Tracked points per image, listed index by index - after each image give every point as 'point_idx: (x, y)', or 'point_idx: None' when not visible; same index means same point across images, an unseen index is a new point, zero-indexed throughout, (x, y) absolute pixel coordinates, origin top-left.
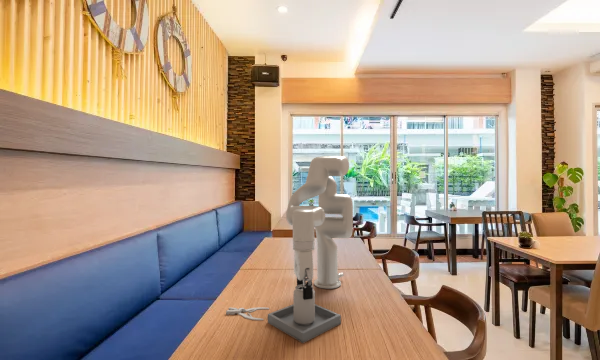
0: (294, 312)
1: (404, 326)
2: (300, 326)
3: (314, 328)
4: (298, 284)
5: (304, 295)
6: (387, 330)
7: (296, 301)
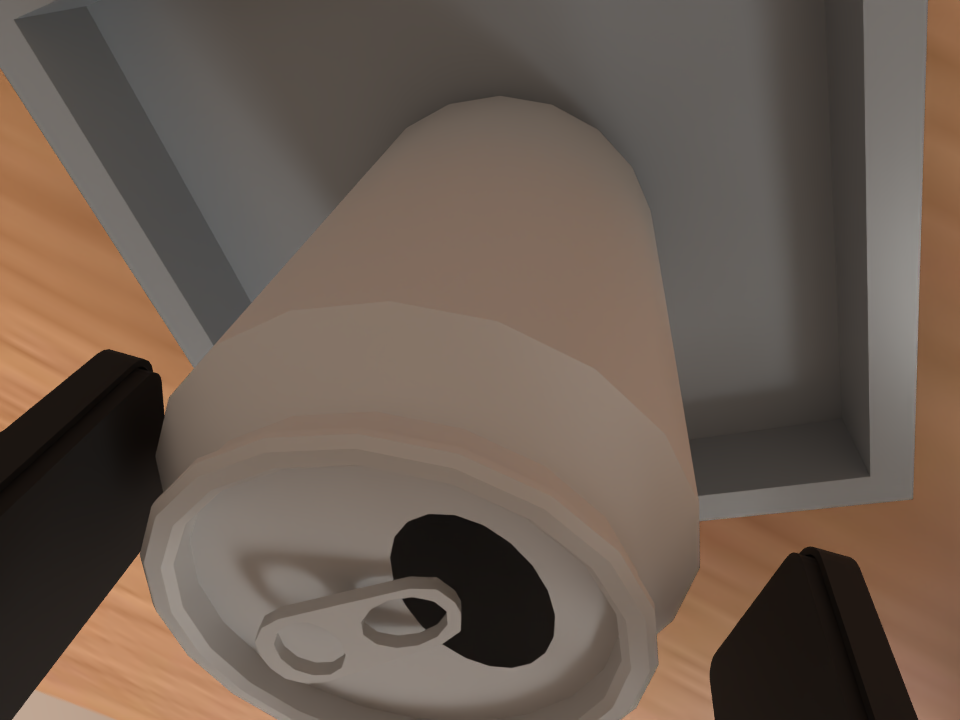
0: (482, 132)
1: (194, 709)
2: (392, 124)
3: (99, 206)
4: (808, 651)
5: (46, 425)
6: (167, 636)
7: (349, 228)
